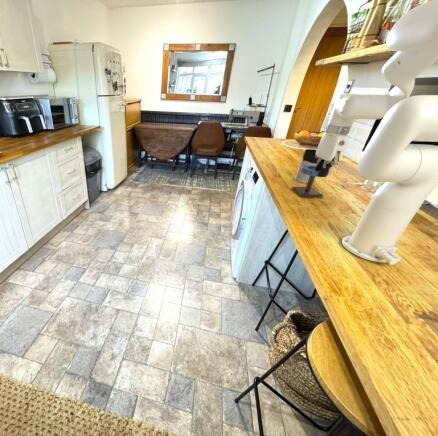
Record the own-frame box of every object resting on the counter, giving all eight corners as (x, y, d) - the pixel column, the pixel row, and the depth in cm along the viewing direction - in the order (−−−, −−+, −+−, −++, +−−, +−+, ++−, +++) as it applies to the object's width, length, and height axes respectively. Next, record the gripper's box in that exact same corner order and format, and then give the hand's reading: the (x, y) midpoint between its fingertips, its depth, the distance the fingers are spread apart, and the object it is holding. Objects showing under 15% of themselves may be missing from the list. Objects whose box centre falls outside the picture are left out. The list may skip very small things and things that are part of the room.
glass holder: (298, 175, 130) (308, 147, 122) (327, 183, 120) (340, 154, 113) (291, 179, 125) (300, 150, 118) (320, 187, 116) (333, 157, 108)
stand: (321, 197, 106) (332, 173, 100) (301, 197, 106) (310, 172, 100) (310, 189, 113) (319, 166, 108) (291, 189, 114) (299, 166, 108)
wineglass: (349, 174, 112) (383, 176, 106) (345, 176, 118) (377, 179, 112) (346, 188, 112) (379, 191, 107) (342, 190, 118) (374, 193, 113)
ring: (332, 177, 100) (334, 172, 99) (309, 176, 100) (310, 172, 99) (318, 169, 109) (320, 165, 108) (296, 169, 109) (298, 164, 108)
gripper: (363, 134, 85) (341, 182, 94) (333, 126, 99) (317, 169, 108) (342, 134, 85) (322, 182, 94) (315, 126, 99) (300, 169, 108)
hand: (319, 175), depth 101 cm, fingers closed on ring, 2 cm apart
